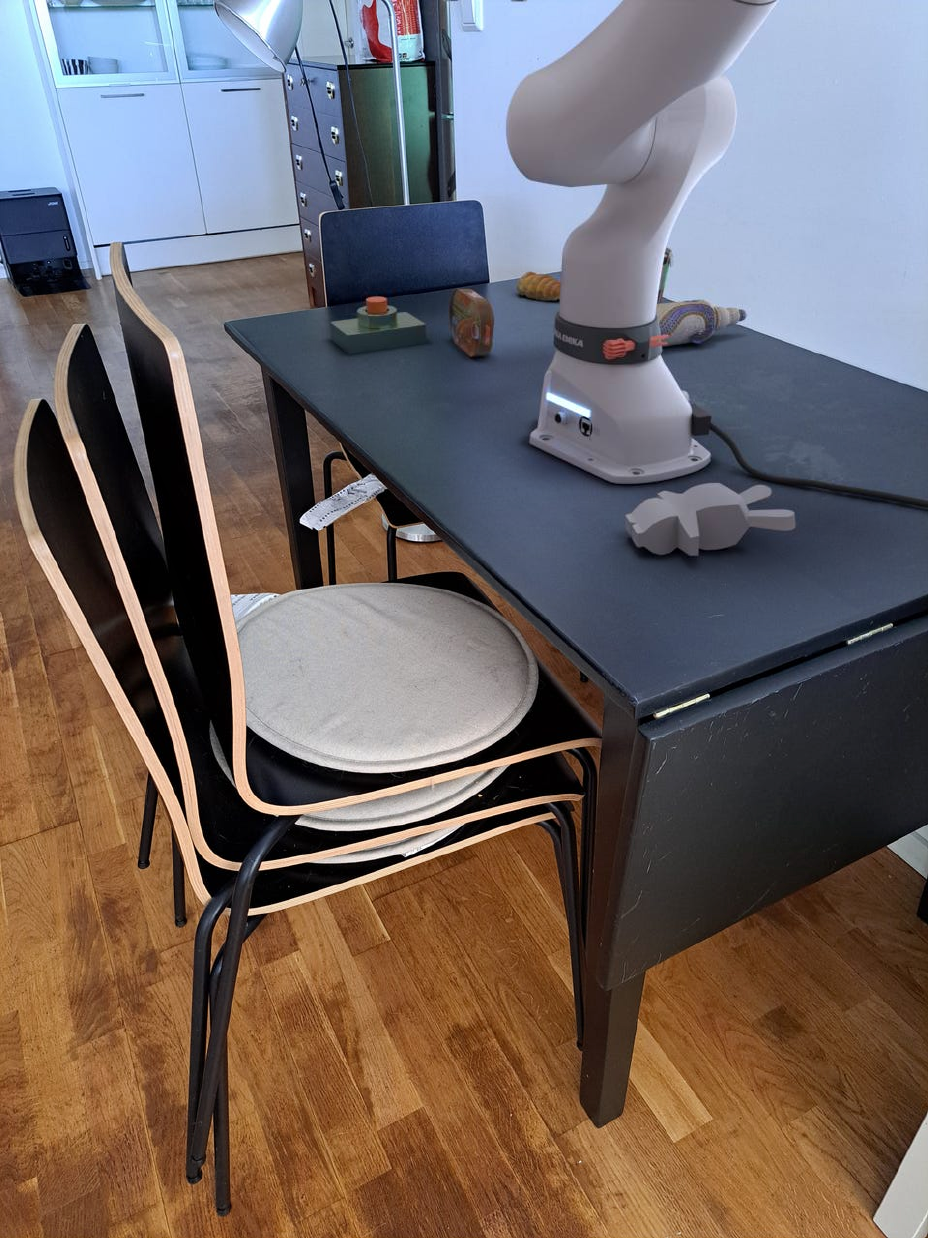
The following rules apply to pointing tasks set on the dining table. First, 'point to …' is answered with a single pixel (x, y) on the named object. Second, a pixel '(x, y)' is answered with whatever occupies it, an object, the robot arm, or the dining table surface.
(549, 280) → the pastry
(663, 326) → the decorative bottle
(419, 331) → the console
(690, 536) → the bunny figurine
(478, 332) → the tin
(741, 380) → the dining table surface
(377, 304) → the button
